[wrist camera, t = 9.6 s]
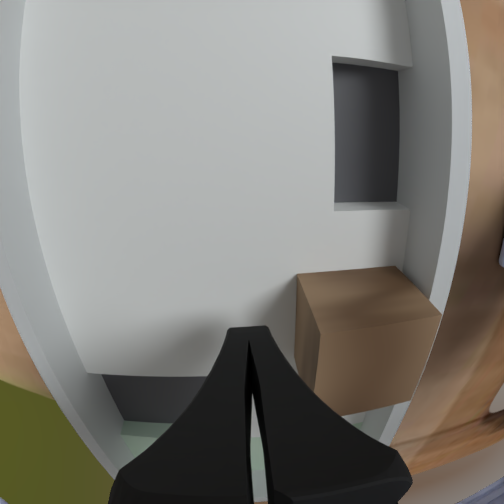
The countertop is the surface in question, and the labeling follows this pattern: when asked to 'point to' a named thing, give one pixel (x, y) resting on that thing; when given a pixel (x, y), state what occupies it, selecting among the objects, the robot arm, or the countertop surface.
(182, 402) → the tray
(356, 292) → the walnut block
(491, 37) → the countertop surface
